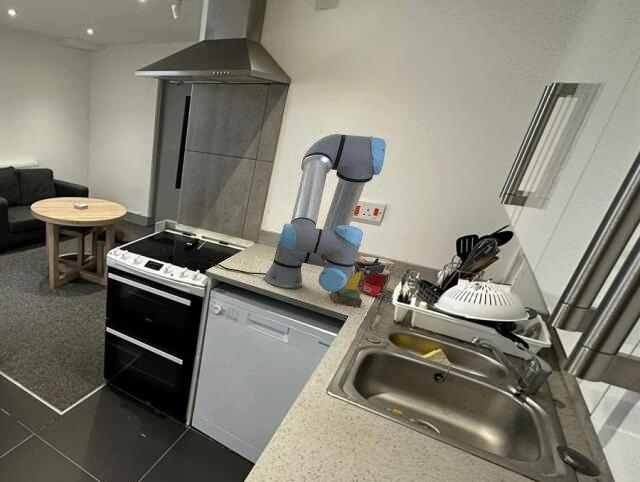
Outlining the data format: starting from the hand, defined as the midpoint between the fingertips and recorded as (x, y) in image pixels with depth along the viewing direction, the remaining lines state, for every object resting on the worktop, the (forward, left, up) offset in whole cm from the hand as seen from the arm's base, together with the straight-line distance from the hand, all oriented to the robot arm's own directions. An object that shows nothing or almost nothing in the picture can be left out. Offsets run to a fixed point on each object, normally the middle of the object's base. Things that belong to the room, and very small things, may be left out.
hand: (355, 256), depth 144 cm
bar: (+4, +9, -15) cm, 18 cm away
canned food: (+18, +23, -21) cm, 36 cm away
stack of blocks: (+16, +33, -21) cm, 42 cm away
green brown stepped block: (+4, +9, -21) cm, 23 cm away
